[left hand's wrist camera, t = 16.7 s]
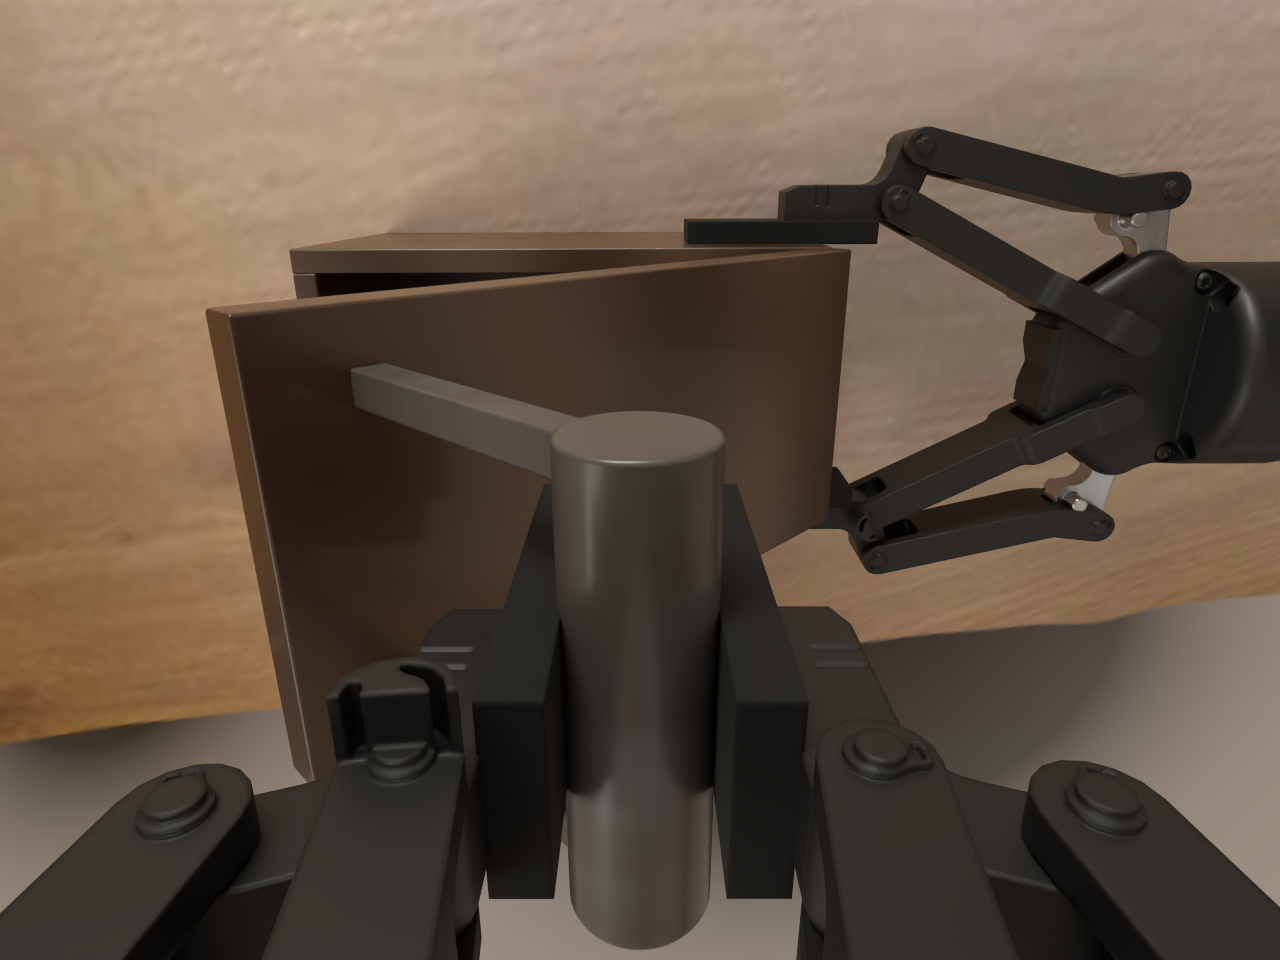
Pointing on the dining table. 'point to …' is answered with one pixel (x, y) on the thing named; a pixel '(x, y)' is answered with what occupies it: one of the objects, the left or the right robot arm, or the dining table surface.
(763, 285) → the lid
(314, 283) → the chest
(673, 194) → the dining table surface
